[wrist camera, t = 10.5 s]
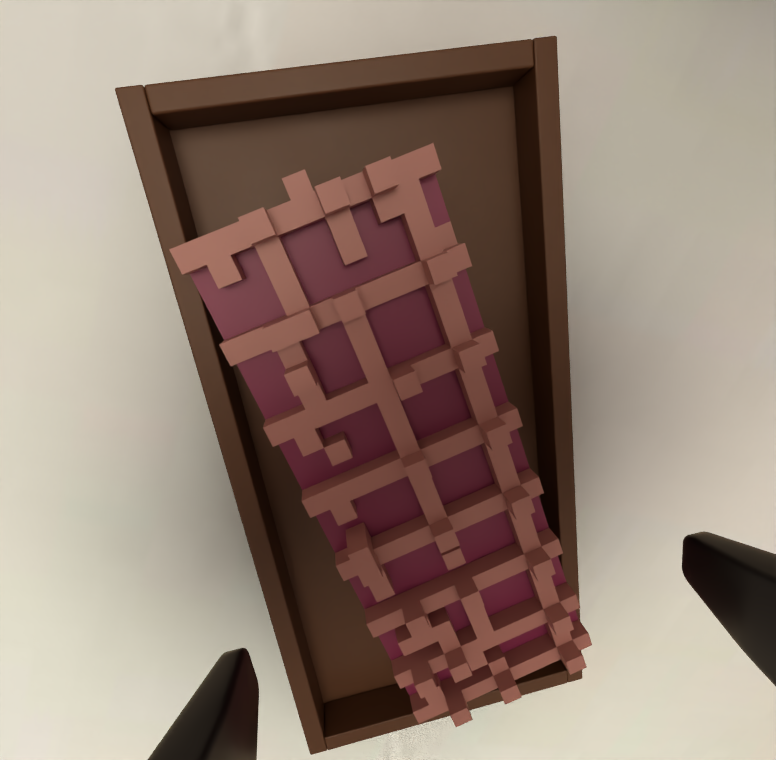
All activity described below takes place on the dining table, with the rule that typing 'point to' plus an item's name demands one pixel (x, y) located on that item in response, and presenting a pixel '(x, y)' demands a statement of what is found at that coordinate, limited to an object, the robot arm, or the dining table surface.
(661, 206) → the dining table surface
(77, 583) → the dining table surface
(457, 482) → the pink flat grid slab
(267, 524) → the tray
